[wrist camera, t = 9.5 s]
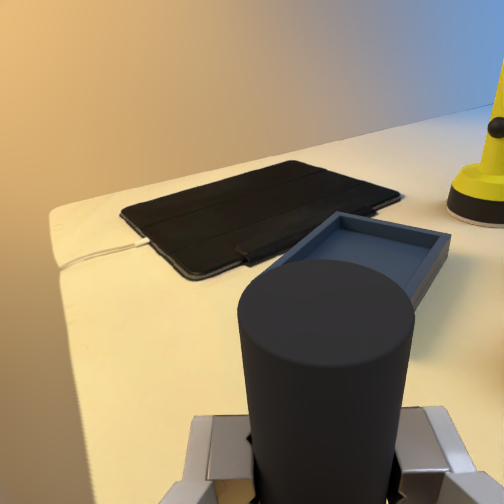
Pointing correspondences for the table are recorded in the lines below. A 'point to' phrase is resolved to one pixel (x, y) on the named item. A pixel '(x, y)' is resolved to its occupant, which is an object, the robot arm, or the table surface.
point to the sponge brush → (324, 380)
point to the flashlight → (483, 176)
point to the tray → (377, 250)
